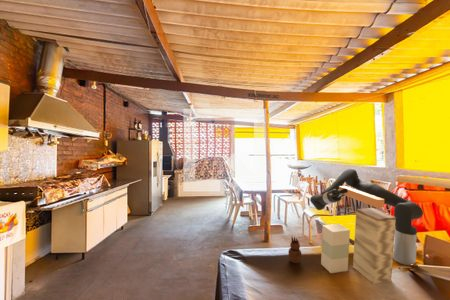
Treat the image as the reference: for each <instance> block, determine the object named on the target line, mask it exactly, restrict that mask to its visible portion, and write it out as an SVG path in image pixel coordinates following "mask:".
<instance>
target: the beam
mask: <svg viewBox="0 0 450 300" xmlns="http://www.w3.org/2000/svg"><path fill="white" fill-rule="evenodd" d="M345 188H346V189H347V191H348V192H346V193H344V194H343V195H345V196H346V197H348V198H352V199H354V200H356V201H358V202H362V203H364V204H366V205H368V206H371V207H372V208H375V209H379V208H381V209H382V208H385V204H384V199H382V198H379V197H376V196H373V195H370V194H367V193H365V192H362V191H359V190H357V189H355V188H354V189H353V187H351V186H350V187H349V186H348V185H347V186H346V185H342V186H339V190H342V189H345ZM345 196H344V197H345Z"/></svg>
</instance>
